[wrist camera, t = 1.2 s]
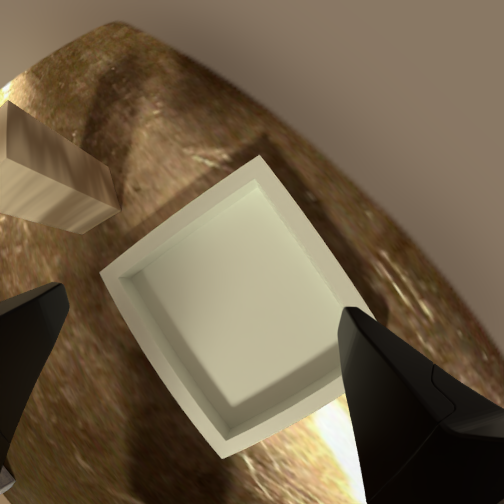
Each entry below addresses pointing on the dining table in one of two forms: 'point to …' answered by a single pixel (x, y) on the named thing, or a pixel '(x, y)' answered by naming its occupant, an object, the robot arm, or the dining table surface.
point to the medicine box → (5, 480)
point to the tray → (238, 309)
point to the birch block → (50, 176)
